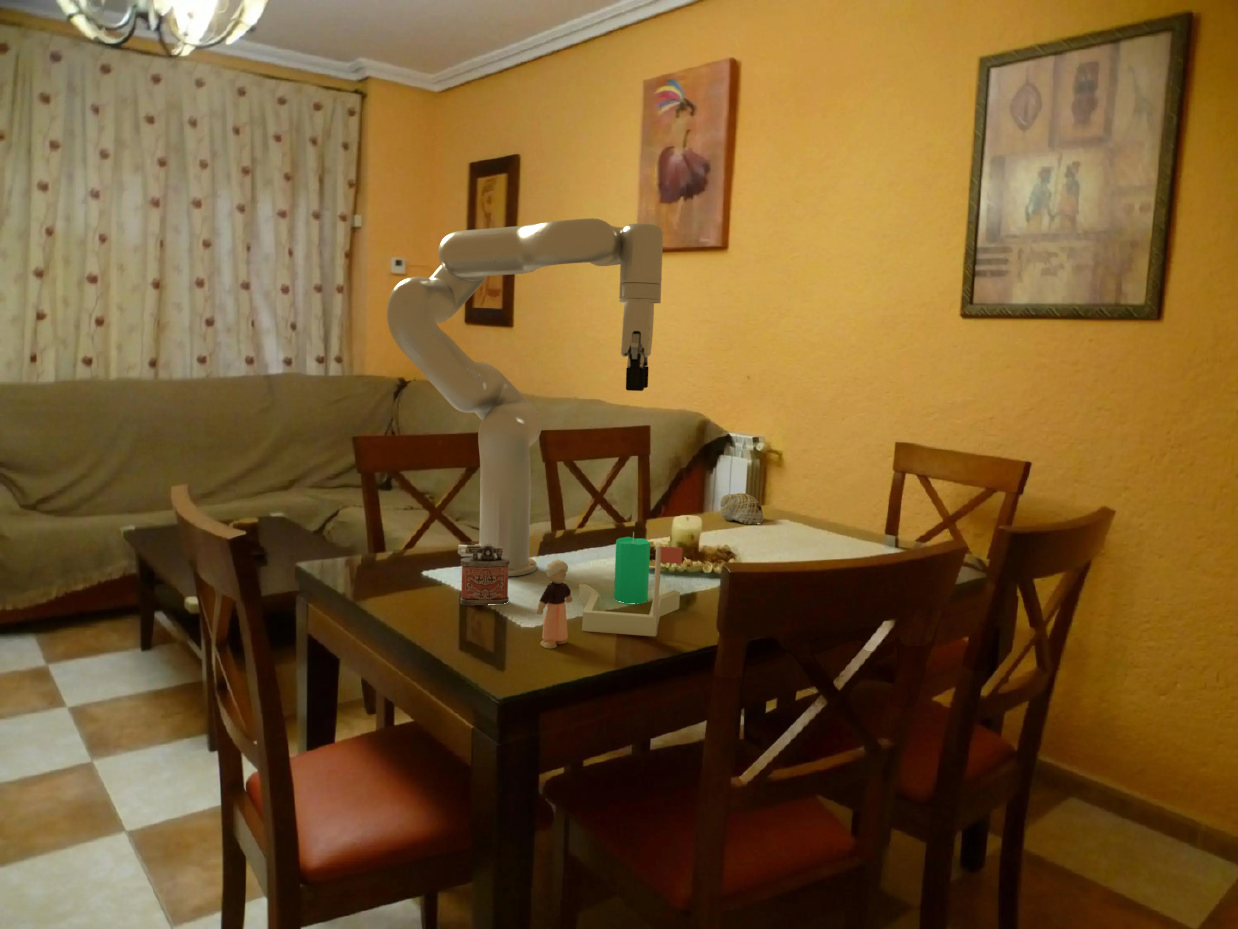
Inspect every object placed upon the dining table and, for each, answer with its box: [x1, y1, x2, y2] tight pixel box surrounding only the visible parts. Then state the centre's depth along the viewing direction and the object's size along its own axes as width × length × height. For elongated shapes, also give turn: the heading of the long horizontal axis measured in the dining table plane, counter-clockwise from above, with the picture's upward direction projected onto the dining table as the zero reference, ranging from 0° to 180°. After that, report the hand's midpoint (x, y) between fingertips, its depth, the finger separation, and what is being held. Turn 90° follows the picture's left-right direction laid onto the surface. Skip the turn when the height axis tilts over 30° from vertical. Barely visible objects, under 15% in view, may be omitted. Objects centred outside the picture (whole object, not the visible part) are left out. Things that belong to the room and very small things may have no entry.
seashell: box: [719, 492, 764, 525], centre depth 229 cm, size 10×10×10 cm
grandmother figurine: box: [535, 558, 573, 650], centre depth 134 cm, size 8×4×13 cm, turn 156°
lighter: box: [459, 544, 510, 606], centre depth 152 cm, size 8×3×10 cm, turn 100°
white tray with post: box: [578, 545, 683, 637], centre depth 146 cm, size 18×16×14 cm
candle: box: [613, 531, 651, 605], centre depth 157 cm, size 6×6×12 cm
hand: (637, 388), depth 166 cm, fingers open, 9 cm apart
